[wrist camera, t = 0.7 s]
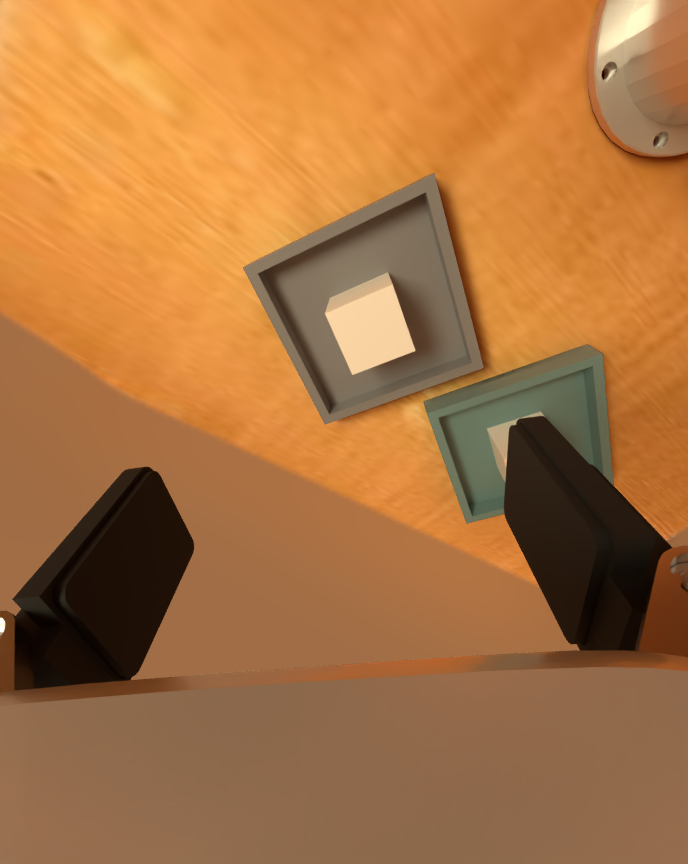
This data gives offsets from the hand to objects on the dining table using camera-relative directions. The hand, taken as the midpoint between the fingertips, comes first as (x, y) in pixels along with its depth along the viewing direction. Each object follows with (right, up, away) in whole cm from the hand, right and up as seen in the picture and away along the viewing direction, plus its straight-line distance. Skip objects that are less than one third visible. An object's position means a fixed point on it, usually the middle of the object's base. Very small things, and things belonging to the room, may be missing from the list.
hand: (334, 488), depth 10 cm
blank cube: (+2, +11, +21) cm, 24 cm away
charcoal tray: (+2, +12, +22) cm, 25 cm away
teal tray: (+17, +1, +27) cm, 33 cm away
